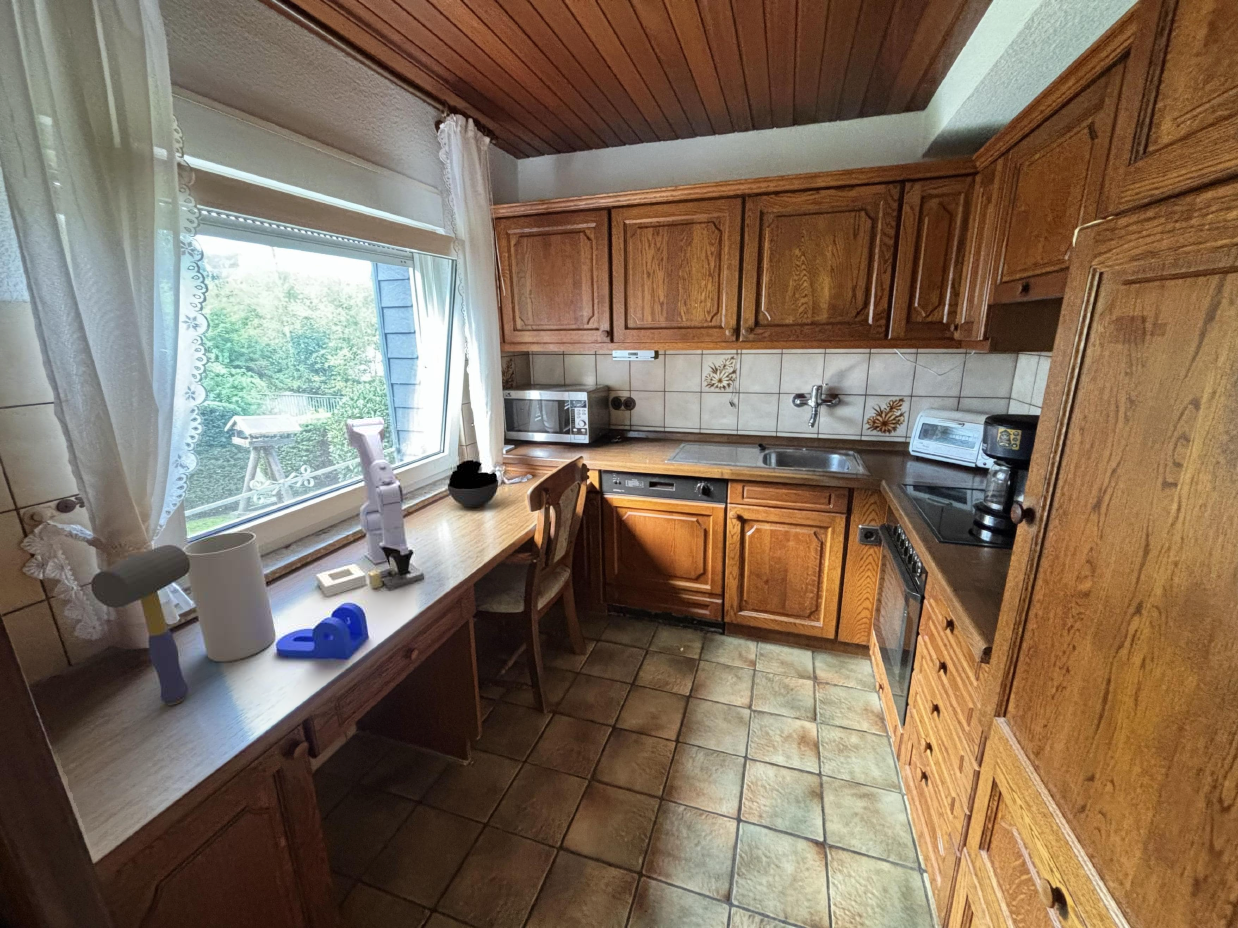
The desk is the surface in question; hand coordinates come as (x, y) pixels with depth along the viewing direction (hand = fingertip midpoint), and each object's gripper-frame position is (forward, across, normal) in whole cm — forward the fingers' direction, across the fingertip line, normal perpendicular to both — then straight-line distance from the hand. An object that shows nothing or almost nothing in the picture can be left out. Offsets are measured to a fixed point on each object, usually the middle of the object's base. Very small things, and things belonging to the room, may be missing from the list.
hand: (398, 570), depth 145 cm
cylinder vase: (+3, +9, -38) cm, 39 cm away
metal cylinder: (+3, 0, 0) cm, 3 cm away
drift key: (+2, 0, -5) cm, 6 cm away
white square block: (+2, -8, -13) cm, 15 cm away
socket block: (+3, 0, 0) cm, 3 cm away
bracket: (+3, +22, -26) cm, 33 cm away
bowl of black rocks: (+3, -45, +47) cm, 65 cm away
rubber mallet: (+3, +22, -50) cm, 55 cm away
